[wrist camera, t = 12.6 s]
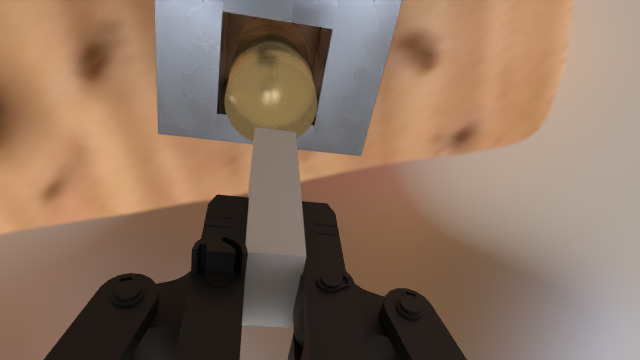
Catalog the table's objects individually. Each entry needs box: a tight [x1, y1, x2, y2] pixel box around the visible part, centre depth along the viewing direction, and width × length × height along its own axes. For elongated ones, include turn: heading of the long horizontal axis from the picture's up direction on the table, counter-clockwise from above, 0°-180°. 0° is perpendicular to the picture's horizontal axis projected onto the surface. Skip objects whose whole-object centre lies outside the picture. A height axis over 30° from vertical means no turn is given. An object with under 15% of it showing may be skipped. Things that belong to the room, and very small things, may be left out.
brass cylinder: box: [225, 17, 317, 141], centre depth 25 cm, size 4×4×8 cm
